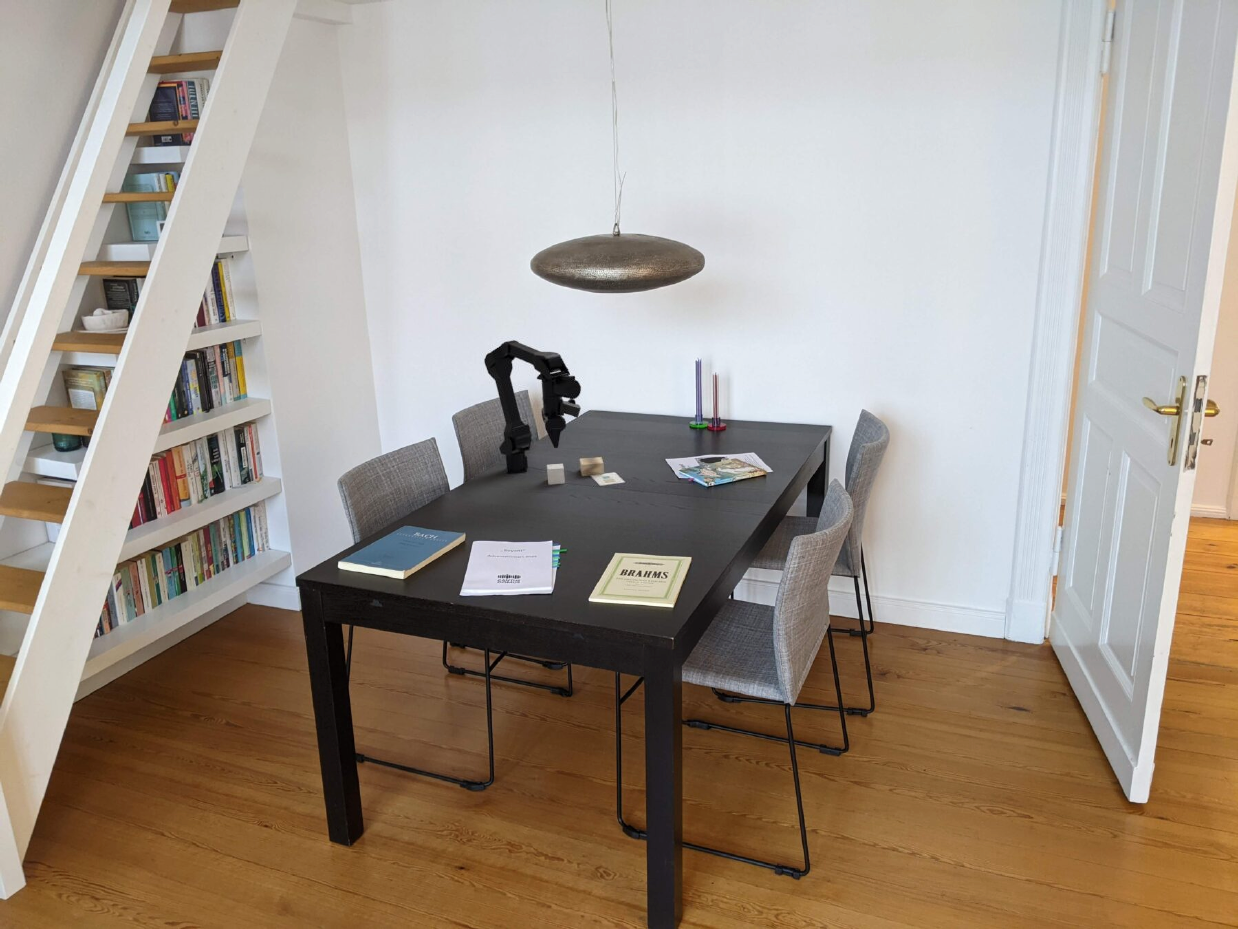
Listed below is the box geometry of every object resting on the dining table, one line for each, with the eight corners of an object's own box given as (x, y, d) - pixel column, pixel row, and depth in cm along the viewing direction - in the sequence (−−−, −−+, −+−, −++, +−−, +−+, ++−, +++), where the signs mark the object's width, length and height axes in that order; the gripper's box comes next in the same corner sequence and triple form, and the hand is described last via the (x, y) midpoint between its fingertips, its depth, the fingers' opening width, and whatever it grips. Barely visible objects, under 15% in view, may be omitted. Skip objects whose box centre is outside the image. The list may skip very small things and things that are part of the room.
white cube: (548, 484, 294) (547, 469, 292) (547, 480, 298) (546, 464, 297) (564, 483, 294) (563, 468, 293) (563, 478, 299) (562, 463, 298)
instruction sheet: (600, 485, 290) (600, 485, 290) (590, 476, 300) (590, 475, 300) (625, 482, 292) (625, 481, 292) (614, 472, 302) (614, 472, 302)
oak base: (582, 476, 301) (581, 464, 300) (580, 470, 307) (579, 458, 306) (604, 475, 301) (603, 463, 300) (601, 468, 308) (601, 457, 307)
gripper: (581, 399, 281) (584, 450, 285) (575, 386, 299) (577, 434, 303) (543, 402, 279) (547, 452, 284) (539, 389, 297) (542, 437, 302)
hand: (554, 444), depth 293 cm, fingers open, 9 cm apart
